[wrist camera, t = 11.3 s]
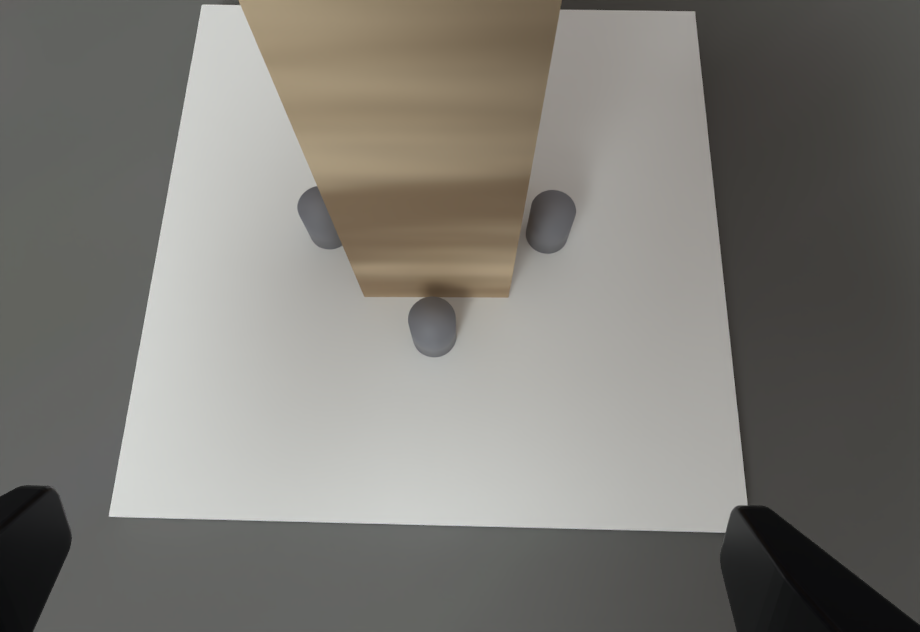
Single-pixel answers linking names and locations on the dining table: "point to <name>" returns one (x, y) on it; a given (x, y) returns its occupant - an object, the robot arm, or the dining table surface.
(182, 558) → the dining table surface
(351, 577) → the dining table surface
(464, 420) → the peg board
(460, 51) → the bronze post
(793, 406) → the dining table surface
